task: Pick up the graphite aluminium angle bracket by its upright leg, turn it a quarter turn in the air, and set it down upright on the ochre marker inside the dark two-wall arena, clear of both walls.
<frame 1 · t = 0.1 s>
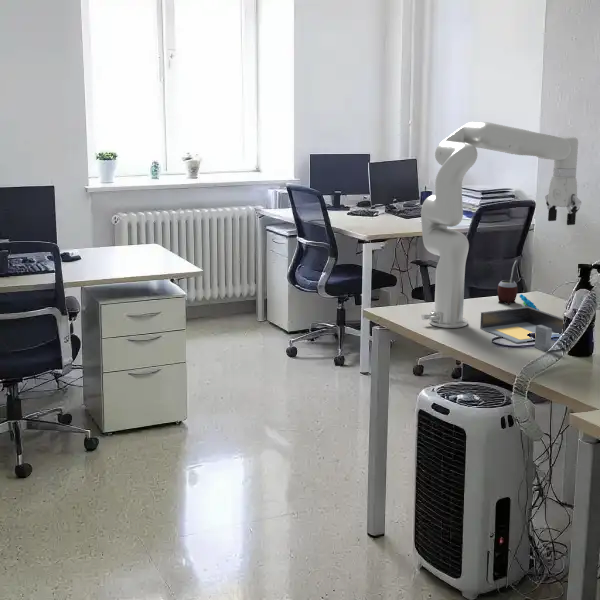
hand: (561, 222, 315), 31 cm above the table, fingers open, 9 cm apart
mate gourd: (507, 303, 333), on the table
bracket: (549, 348, 276), on the table
blue toy cog wheel: (529, 315, 315), on the table
arena: (522, 333, 293), on the table
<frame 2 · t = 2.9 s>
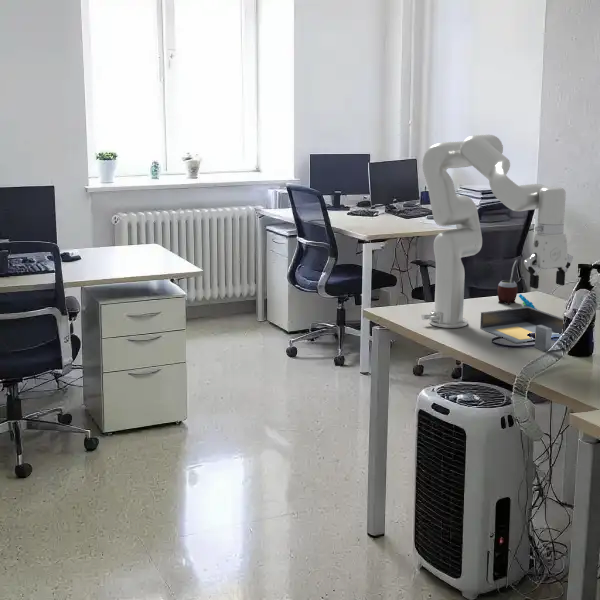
hand: (547, 286, 271), 20 cm above the table, fingers open, 9 cm apart
nothing on the table moved.
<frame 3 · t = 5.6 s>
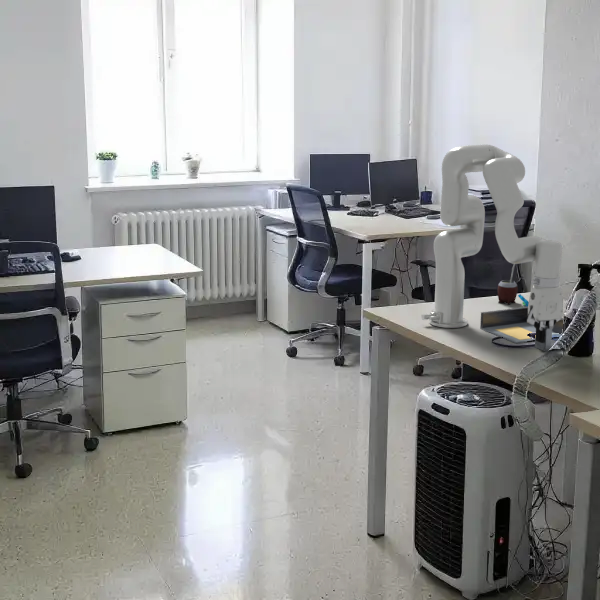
hand: (542, 340, 275), 3 cm above the table, fingers closed on bracket
bracket: (549, 347, 276), on the table, touching gripper
everything else where it was.
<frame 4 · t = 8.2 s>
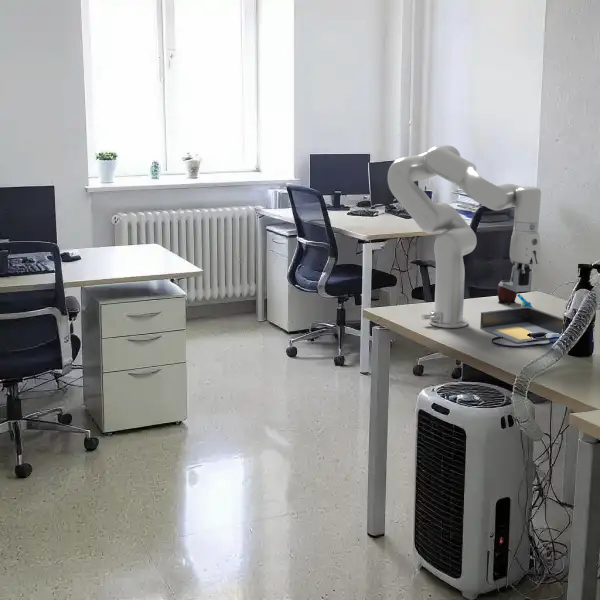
hand: (521, 284, 287), 17 cm above the table, fingers closed on bracket
bracket: (515, 289, 289), point 15 cm above the table, touching gripper
everything else where it was.
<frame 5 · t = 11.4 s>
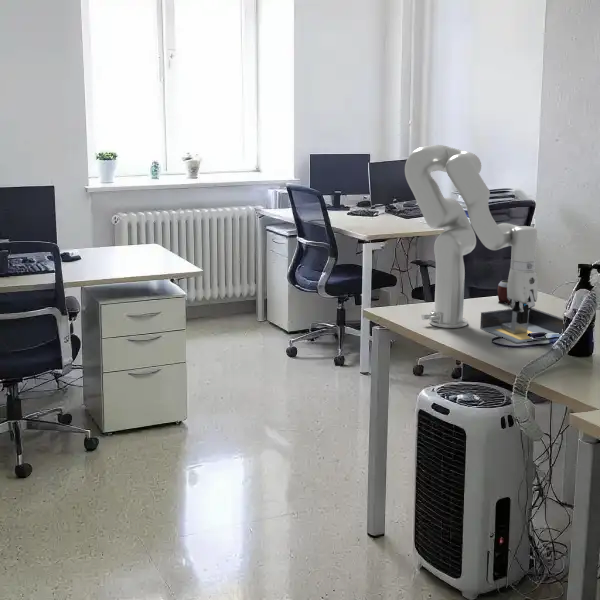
hand: (519, 321, 290), 4 cm above the table, fingers closed
bracket: (514, 330, 293), point 1 cm above the table
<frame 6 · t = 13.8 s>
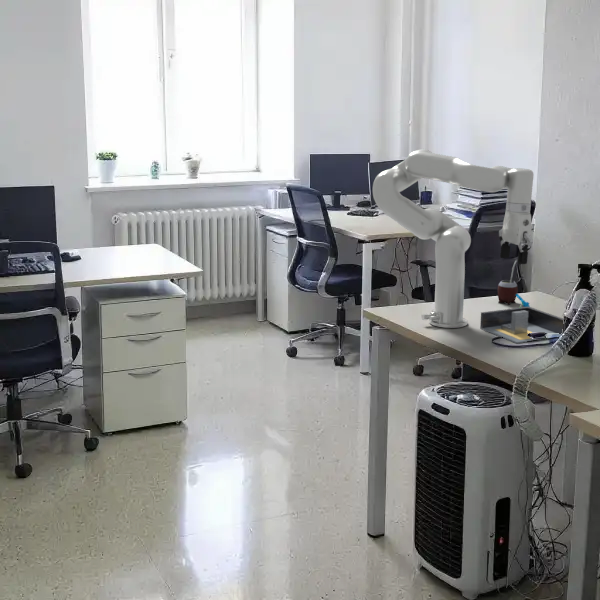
hand: (513, 260, 292), 23 cm above the table, fingers open, 9 cm apart
bracket: (514, 331, 293), point 1 cm above the table, touching arena
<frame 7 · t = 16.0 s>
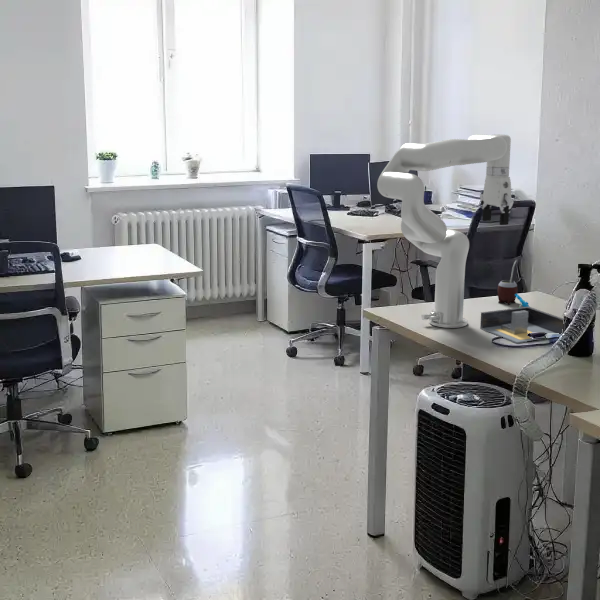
hand: (495, 222, 308), 32 cm above the table, fingers open, 9 cm apart
at the end: bracket inside the target area (2.5 cm from its centre), point 0.6 cm above the table; bracket tilted 0°; the gripper is holding nothing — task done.
